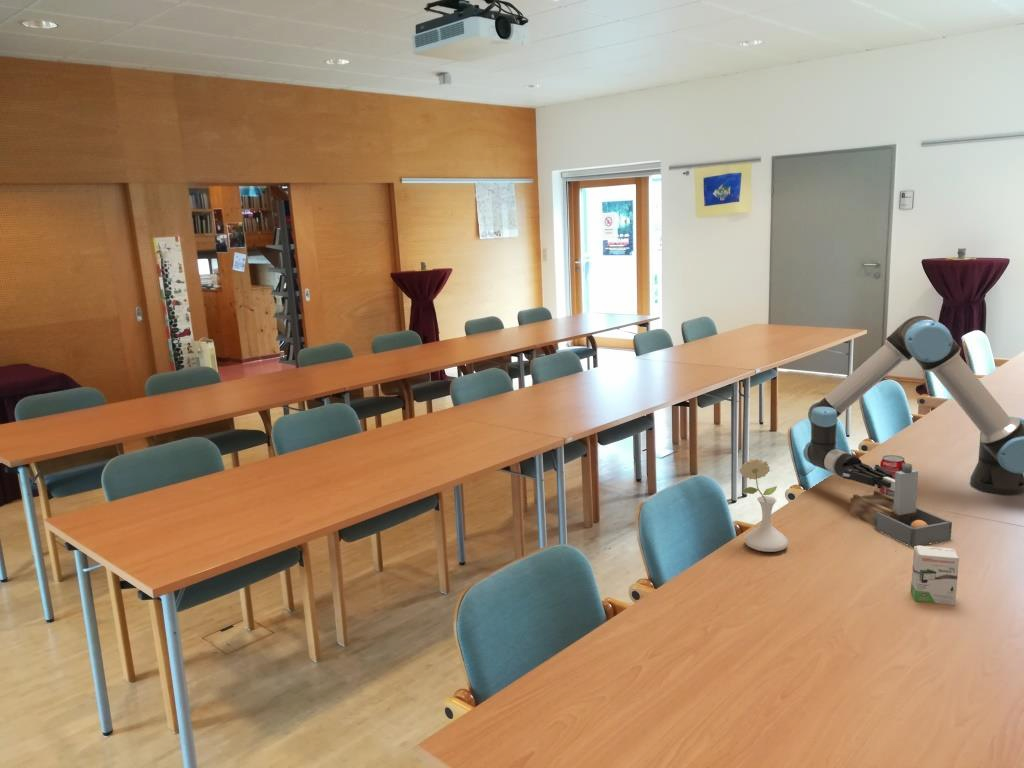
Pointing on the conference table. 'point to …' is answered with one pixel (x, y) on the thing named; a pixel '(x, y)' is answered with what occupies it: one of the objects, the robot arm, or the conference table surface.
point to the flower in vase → (765, 534)
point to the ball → (918, 523)
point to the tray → (917, 536)
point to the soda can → (891, 470)
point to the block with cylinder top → (905, 490)
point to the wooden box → (874, 507)
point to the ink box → (934, 575)
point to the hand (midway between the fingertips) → (902, 488)
